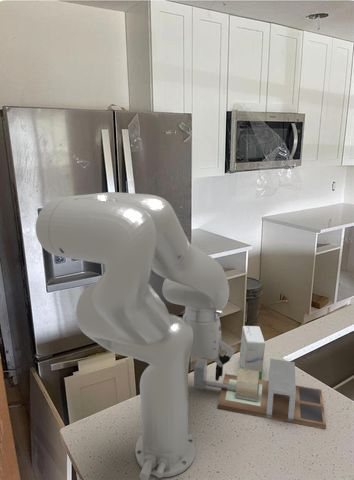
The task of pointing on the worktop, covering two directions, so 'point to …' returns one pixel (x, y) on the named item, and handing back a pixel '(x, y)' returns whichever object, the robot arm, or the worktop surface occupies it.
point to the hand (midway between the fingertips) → (198, 374)
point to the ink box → (252, 349)
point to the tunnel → (282, 384)
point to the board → (277, 404)
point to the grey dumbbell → (244, 387)
